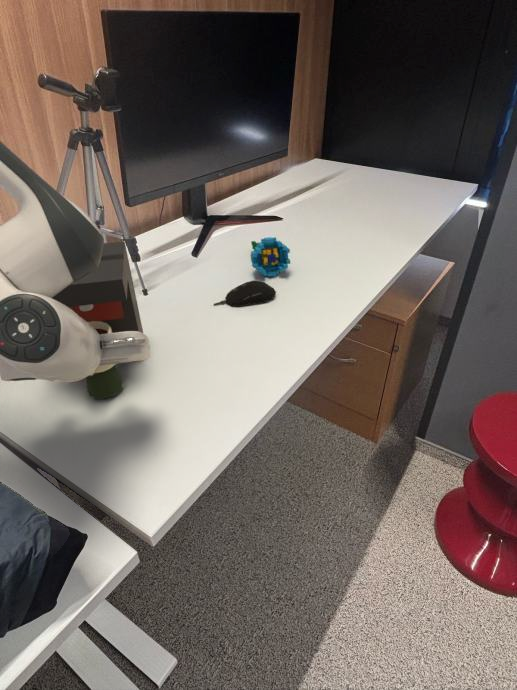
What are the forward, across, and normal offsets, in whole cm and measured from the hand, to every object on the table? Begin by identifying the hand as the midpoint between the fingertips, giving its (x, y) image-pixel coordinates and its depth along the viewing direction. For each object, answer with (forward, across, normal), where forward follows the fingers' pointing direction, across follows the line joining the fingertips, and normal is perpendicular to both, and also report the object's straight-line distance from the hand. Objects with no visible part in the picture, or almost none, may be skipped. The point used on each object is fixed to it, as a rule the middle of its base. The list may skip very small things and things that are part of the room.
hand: (89, 359), depth 77 cm
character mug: (+11, 0, +4) cm, 12 cm away
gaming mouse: (+29, -30, -13) cm, 44 cm away
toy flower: (+40, -38, -24) cm, 61 cm away
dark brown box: (+16, 0, -1) cm, 16 cm away
